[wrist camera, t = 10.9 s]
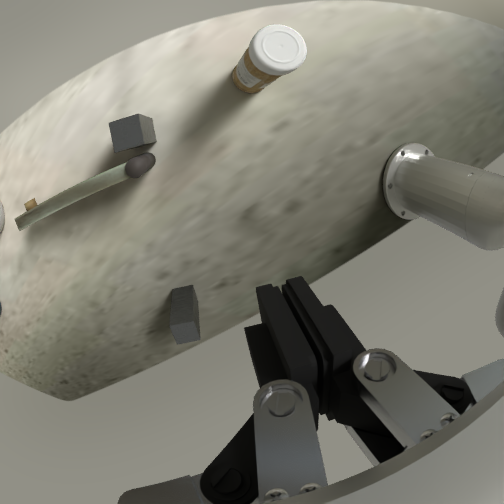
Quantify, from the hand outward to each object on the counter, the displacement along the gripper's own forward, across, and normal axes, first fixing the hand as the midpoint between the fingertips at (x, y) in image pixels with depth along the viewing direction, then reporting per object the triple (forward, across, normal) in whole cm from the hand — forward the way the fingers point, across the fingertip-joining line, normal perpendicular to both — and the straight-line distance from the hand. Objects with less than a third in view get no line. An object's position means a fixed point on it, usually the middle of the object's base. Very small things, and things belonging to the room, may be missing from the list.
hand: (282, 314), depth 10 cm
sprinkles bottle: (+27, -6, -13) cm, 31 cm away
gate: (+27, +16, -5) cm, 31 cm away
